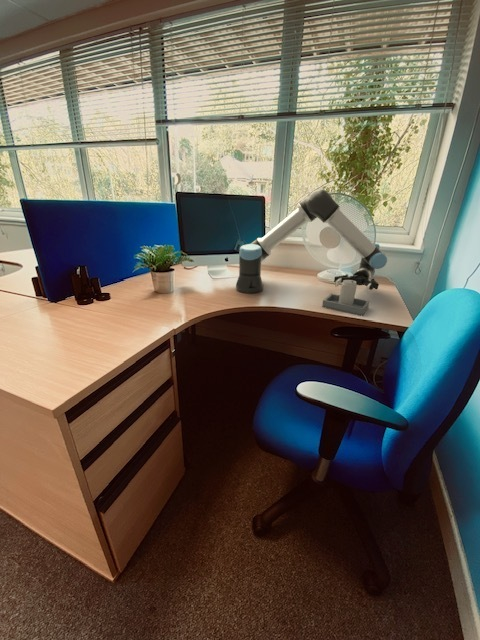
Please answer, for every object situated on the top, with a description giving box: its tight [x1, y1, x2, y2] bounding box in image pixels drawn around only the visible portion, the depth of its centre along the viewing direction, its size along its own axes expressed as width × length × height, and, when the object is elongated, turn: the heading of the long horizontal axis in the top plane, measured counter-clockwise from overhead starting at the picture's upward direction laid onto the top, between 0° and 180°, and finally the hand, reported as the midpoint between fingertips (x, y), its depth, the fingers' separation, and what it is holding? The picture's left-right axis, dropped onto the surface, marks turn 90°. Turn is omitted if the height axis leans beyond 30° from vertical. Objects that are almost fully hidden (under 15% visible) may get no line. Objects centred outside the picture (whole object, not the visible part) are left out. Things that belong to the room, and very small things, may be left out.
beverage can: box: [338, 280, 358, 306], centre depth 121 cm, size 6×6×12 cm
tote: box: [321, 293, 370, 317], centre depth 123 cm, size 18×12×3 cm, turn 55°
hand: (351, 286), depth 121 cm, fingers open, 13 cm apart
